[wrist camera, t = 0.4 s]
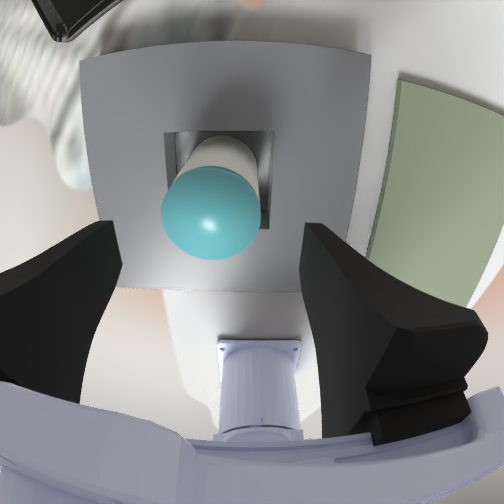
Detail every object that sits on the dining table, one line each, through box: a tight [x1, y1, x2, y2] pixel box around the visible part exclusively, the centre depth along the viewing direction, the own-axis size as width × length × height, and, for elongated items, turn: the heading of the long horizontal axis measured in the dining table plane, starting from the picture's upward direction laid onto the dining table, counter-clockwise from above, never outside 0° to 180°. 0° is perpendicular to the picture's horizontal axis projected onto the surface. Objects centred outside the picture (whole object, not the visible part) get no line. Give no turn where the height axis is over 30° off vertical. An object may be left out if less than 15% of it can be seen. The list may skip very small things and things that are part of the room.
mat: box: [366, 80, 504, 308], centre depth 21 cm, size 20×14×1 cm
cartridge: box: [161, 136, 261, 260], centre depth 16 cm, size 4×4×7 cm
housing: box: [80, 41, 371, 292], centre depth 18 cm, size 16×16×2 cm
